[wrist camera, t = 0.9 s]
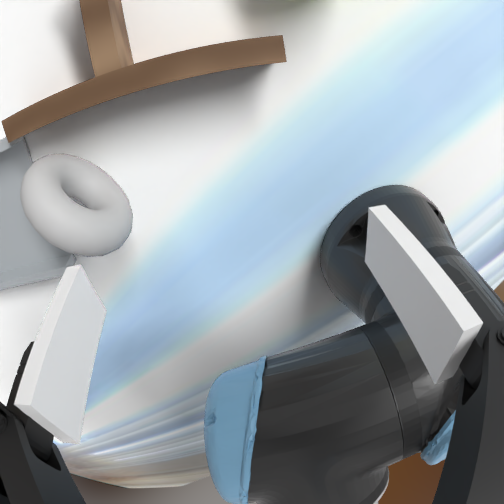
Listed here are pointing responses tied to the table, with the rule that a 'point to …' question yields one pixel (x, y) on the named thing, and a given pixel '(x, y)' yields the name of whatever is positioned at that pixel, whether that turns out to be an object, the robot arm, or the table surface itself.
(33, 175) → the donut
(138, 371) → the table surface
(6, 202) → the tray
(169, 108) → the table surface
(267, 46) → the t rack
